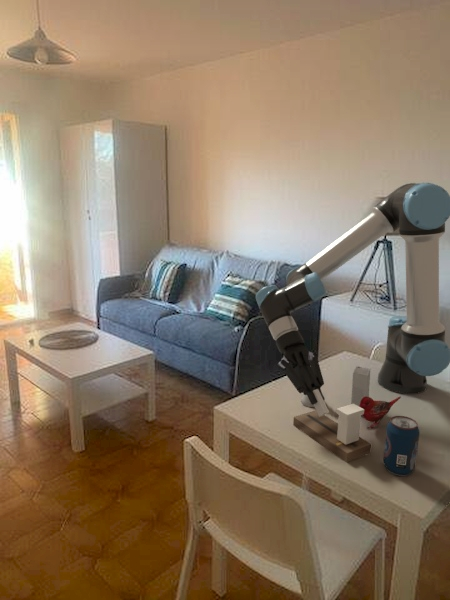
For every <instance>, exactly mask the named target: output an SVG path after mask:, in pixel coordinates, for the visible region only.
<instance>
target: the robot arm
mask: <svg viewBox="0 0 450 600" xmlns="http://www.w3.org/2000/svg"><path fill="white" fill-rule="evenodd" d="M449 218H450V194H449V192H448V191H447V190H446V189H445V188H444V187H442V186H440V185H437V184H435V183H431V182H420V183H415V182H411V183H406V184H403V185H401V186H399V187H397V188H396V189H394V190H393V191H392V192H391V193H390V194H388V195H387V196H386V197H384V198H383V199H382V200H381V201H379V202H378V203H377V204H376V205H375V206H373V207H372V210H371V213H369V214H368V215H367V216H365V217H364V218H363V219H362V220H360V221H359V222H357V223H356V224H355V225H354V226H352V227H350V229H348V230H347V231H346V232H344V233H343V234H342V235H341V236H339V237H338V238H337V239H335V240H333V241H332V242H331V243H329V244H328V245H327V246H326V247H324V248H323V249H321V250H320V251H319V252H317V253H316V254H314V256H312V257H311V258H310V259H308V260H307V261H306V262H305V263H303V264H301V266H299V267H297V268H293V269H291V270H289V272H288V273H287V275H286V277H285V278H286V279H285V282H286V283H285V284H286V286H284V287H282V288H279V287H278V286H277V285H275V284H271V285H266V286H264V287H262V288H260V289H259V290H258V291H257V292H256V294H255V300H256V303H257V306H258V308H259V311H260V313H261V315H262V317H263V320H264V322H265V323H266V325H267V328H268V330H269V331H270V334H271V337H272V339H273V340H274V341H275V345H276V347H277V349H278V352H279V353H280V354H281V360H280V361H279V362H278V363H277V367H278V368H280V370H282V371H283V373H284V374H285V375H286V376H287V378H288V379H289V380H290V382H291V384H292V385H293V386H294V388H295V389H296V391H297V392H298V393H299V394H302V393H303V395H307V396H308V398H309V400H310V402H311V404H312V405H313V404H314V406H315V407H314V408H315V410H316V411H317V413H318V415H319V417H320V416H324V415H325V416H326V415H327V414H328V413H329V412H330V411H329V408H328V407H327V405H326V402H324V401H325V399H326V398H325V396H324V394H323V392H321V391H322V387H323V386H324V385H325V381H324V378H323V374H322V370H321V367H320V364H319V353H318V352H317V351H314V352H311V351H309V349H308V348H307V347H306V345H305V340H304V337H303V336H302V334H301V331H299V327H298V326H297V323H296V321H295V319H294V318H293V315H292V314H291V313H293V312H295V311H297V310H299V309H301V308H304V307H305V306H308V305H309V304H311V303H313V302H317V301H319V300H320V299H321V298H322V297H325V296H326V295H327V290H326V286H325V285H324V283H323V280H324V279H326V278H327V277H329V276H330V275H331V274H332V273H334V272H335V271H337V270H338V269H339V268H340V267H342V266H343V265H345V264H347V262H349V261H350V260H352V259H353V258H354V257H356V256H357V255H358V254H360V253H361V252H362V251H364V250H365V249H366V248H368V247H369V246H371V245H372V244H373V243H375V242H376V241H377V240H378V239H380V238H382V237H383V236H385V234H388V233H391V234H392V233H394V232H395V231H396V230H399V233H398V234H399V237H401V238H402V239H403V240H404V248H405V249H404V250H405V252H404V253H405V294H406V302H405V303H406V315H395V316H394V315H393V316H391V318H389V321H388V325H387V340H386V347H385V348H386V349H385V359H384V361H383V364H382V366H381V368H380V371H379V372H378V375H377V383H378V385H380V386H381V388H382V387H383V388H384V389H386V390H389V391H392V392H395V393H400V394H409V395H412V394H415V395H416V394H420V393H423V392H425V391H426V390H427V384H428V380H427V377H433V376H436V375H439V374H440V373H442V372H443V371H444V370H445V369H447V368H448V367H449V365H450V345H448V344H447V343H446V327H445V326H444V324H442V323H441V322H440V253H439V252H440V238H441V237H442V236H443V235H444V234H445V233H446V222H447V221H448V219H449ZM320 388H321V390H320Z"/></svg>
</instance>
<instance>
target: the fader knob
mask: <svg viewBox="0 0 450 600" xmlns="http://www.w3.org/2000/svg"><path fill="white" fill-rule="evenodd" d="M362 414H364V409H363V408H361V407H359V406H357V405H355V404H351V403H349V404H347V405H344V406H341V407H338V408H336V415H338V419H337V420H338V421H337V423H338V432H337V439H338V440H339V441H341V442H342V443H344V444H345V445H347V444H349V443H352V442H355V441H357V440H359V437H360V434H361V433H360V430H361V422H362V421H361V419H362V416H363V415H362Z"/></svg>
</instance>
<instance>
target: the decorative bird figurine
mask: <svg viewBox="0 0 450 600" xmlns="http://www.w3.org/2000/svg"><path fill="white" fill-rule="evenodd" d="M401 397H402V396H399V397H396V398H394V399H393V400H391V401H386V400H385V401H384V400H374V399H373V398H372V397H370V396H369V397H363V398H362V400H361V402H360V405H359V407H361V408H363V409H364V414H362V415H361V416H362V417H363V418H364V420H366V421H368V422H369V423H372V424H371V425H370V426H367V429H369V428H370V429H371V428H375V427H376V426H378V425H380V421H381V420H382V419H383V418H384V417H385V416H386V415H388V413H389V412H390V410H391V408H392V406H393V405H395V404H396V403H397V402H398V401H399V400H400V399H401Z"/></svg>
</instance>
